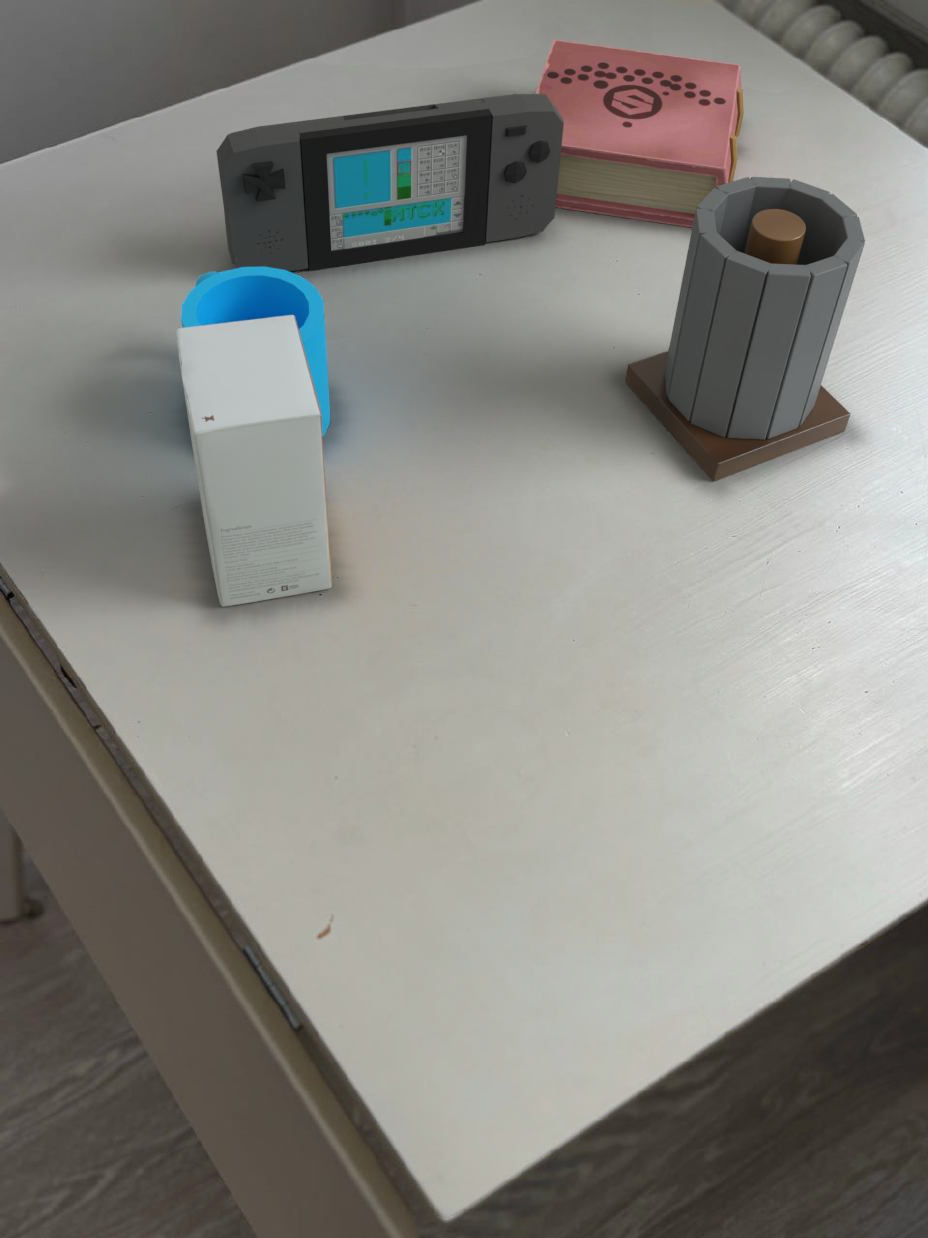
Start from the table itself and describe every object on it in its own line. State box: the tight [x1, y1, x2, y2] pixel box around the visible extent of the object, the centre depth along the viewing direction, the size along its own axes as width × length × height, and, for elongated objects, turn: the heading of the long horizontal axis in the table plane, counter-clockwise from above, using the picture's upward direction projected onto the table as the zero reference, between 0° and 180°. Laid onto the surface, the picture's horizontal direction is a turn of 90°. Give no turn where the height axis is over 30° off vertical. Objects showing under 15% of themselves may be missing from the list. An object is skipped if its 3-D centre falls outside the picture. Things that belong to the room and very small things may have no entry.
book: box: [535, 39, 745, 228], centre depth 101 cm, size 14×15×5 cm
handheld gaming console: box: [216, 93, 564, 272], centre depth 91 cm, size 23×3×10 cm, turn 107°
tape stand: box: [624, 209, 851, 482], centre depth 81 cm, size 10×10×14 cm
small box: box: [175, 315, 333, 607], centre depth 72 cm, size 8×6×13 cm
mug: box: [180, 266, 331, 438], centre depth 82 cm, size 12×8×8 cm
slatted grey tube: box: [664, 176, 866, 440], centre depth 80 cm, size 9×9×12 cm
